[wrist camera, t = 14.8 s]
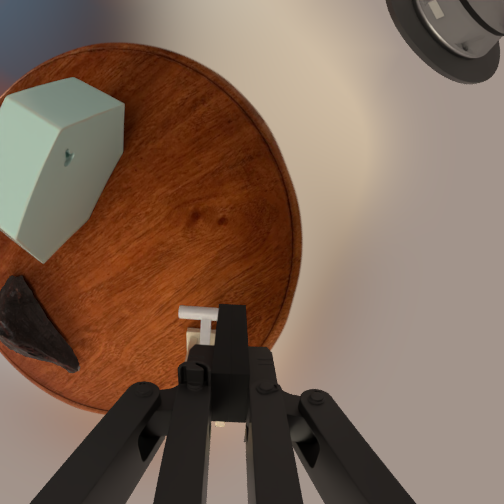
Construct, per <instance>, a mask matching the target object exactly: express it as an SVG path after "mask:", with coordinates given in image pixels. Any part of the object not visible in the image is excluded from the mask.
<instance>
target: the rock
mask: <svg viewBox="0 0 504 504" xmlns="http://www.w3.org/2000/svg"><path fill="white" fill-rule="evenodd" d="M0 341H1V342H2V343H3V344H4V345H5V346H7V347H8V348H9V349H11V350H14V351H15V352H16V353H19V354H22V355H23V356H25V357H29V358H30V357H31V358H34V359H37V360H41V361H46V362H52V363H54V364H56V365H59V366H61V367H63V368H64V369H66V370H67V371H68V372H69V373H75V372H76V371H79V369H80V366H79V362H78V359H77V357H76V356H75V354H74V353H73V350H72V348H71V347H70V346H69V345H68V343H67V342H66V341H65V340H64V338H63V337H62V336H61V335H60V334H59V332H58V331H57V330H56V329H55V328H54V326H53V325H52V323H51V322H50V321H49V320H48V318H47V317H46V315H45V313H44V311H43V310H42V308H41V307H40V305H39V303H38V301H37V300H36V299H35V298H34V296H33V293H32V291H31V290H30V289H29V287H28V286H27V284H26V283H25V281H24V279H23V276H22V275H21V276H19V277H15V276H10V277H9V278H8V279H7V281H6V283H5V285H4V286H3V287H2V289H1V291H0Z"/></svg>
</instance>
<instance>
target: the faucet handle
mask: <svg viewBox="0 0 504 504" xmlns="http://www.w3.org/2000/svg"><path fill="white" fill-rule="evenodd" d="M218 309H219V308H212V307H198V306H185V305H180V306H179V318H183V319H195V320H201V329H200V344H201V345H210V339H211V321H217V317H218Z"/></svg>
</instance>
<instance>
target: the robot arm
mask: <svg viewBox="0 0 504 504" xmlns="http://www.w3.org/2000/svg"><path fill="white" fill-rule="evenodd" d="M412 3H413V7H414V10H415V12H416V15H417V17H418V19H419V20H420V22H421V24H422V25H423V27H424V28H425V30H426V31H427V32H428V34H429V35H430V36H431V37H432V38H433V39H434V40H435V41H436V42H437V43H438V44H439V45H440V46H441V47H442V48H444V49H445V50H446V51H448V52H449V53H451V54H452V55H454V56H456V57H459V58H462V59H466V60H472V59H476V58H479V57H482V56H484V55H485V54H487V53H488V51H489V50H490V49H491V48H492V47H493V46H494V45H495V44H496V43H497V41H498V40H499V39H500V38H501V37H502V36H504V0H412ZM178 382H179V385H178V386H176V387H174V388H171V389H165V390H159V387H158V386H157V385H155V384H153V383H151V382H137V383H135V384H133V385H131V386H130V387H129V388H128V389H127V390H126V392H125V393H124V394H123V395H122V396H121V397H120V399H119V400H118V401H117V402H116V403H115V404H114V405H113V407H112V408H111V409H110V410H109V411H108V412H107V414H106V415H105V416H104V417H103V418H102V419H101V421H100V422H99V423H98V424H97V425H96V427H95V428H94V429H93V430H92V431H91V432H90V433H89V435H88V436H87V437H86V438H85V439H84V441H83V442H82V443H81V444H80V445H79V447H77V449H76V450H75V451H74V452H73V453H72V454H71V456H70V457H69V458H68V459H67V460H66V462H65V463H64V464H63V465H62V466H61V467H60V469H59V470H58V471H57V472H56V473H55V474H54V476H53V477H52V478H51V479H50V480H49V481H48V483H47V484H46V485H45V486H44V487H43V489H42V490H41V491H40V492H39V493H38V494H37V496H36V497H35V498H34V499H33V500H32V501H31V503H30V504H125V503H126V502H127V500H128V499H129V497H130V495H131V494H132V492H133V490H134V489H135V487H136V485H137V484H138V482H139V481H140V479H141V477H142V475H143V474H144V472H145V471H146V469H147V467H148V466H149V464H150V462H151V461H152V459H153V457H154V456H155V454H156V452H157V451H158V449H159V447H160V445H161V444H162V442H163V440H164V439H165V436H167V439H166V443H165V448H164V452H163V457H162V462H161V467H160V472H159V477H158V482H157V487H156V492H155V498H154V503H153V504H206V498H207V481H208V465H209V451H210V450H209V449H210V437H211V436H210V435H211V421H220V422H244V423H245V422H246V429H245V439H244V442H246V463H247V488H248V504H303V500H302V495H301V489H300V484H299V478H298V473H297V468H296V462H295V457H294V451H293V448H294V450H295V451H296V453H297V455H298V457H299V459H300V461H301V463H302V464H303V466H304V468H305V470H306V472H307V473H308V475H309V477H310V479H311V480H312V482H313V484H314V486H315V487H316V489H317V491H318V493H319V494H320V496H321V498H322V500H323V501H324V503H325V504H416V503H415V502H414V500H413V499H412V498H411V497H410V495H409V494H408V493H407V492H406V491H405V489H404V488H403V487H402V486H401V484H400V483H399V482H398V481H397V479H396V478H395V477H394V476H393V475H392V473H391V472H390V471H389V470H388V468H387V467H386V466H385V465H384V463H383V462H382V461H381V460H380V458H379V457H378V456H377V455H376V453H375V452H374V451H373V450H372V449H371V447H370V446H369V444H368V443H367V442H366V441H365V439H364V438H363V437H362V436H361V434H360V433H359V432H358V431H357V429H356V428H355V427H354V425H353V424H352V423H351V422H350V420H349V419H348V418H347V416H346V415H345V414H344V413H343V411H342V410H341V409H340V407H339V406H338V405H337V403H336V402H335V401H334V400H333V398H332V397H331V396H330V395H329V394H328V393H326V392H324V391H322V390H317V389H310V390H307V391H304V392H303V393H302V394H301V396H297V395H292V394H289V393H287V392H284V391H283V390H282V389H281V387H280V385H278V383H277V379H276V373H275V367H274V362H273V356H272V352H271V351H270V350H269V349H268V348H267V347H248V335H247V319H246V305H231V304H219V309H218V317H217V326H216V334H215V343H214V345H201V344H195V345H194V346H193V347H192V348H191V349H190V350H189V354H188V359H187V361H186V362H184V363H182V364H180V365H179V367H178Z"/></svg>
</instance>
